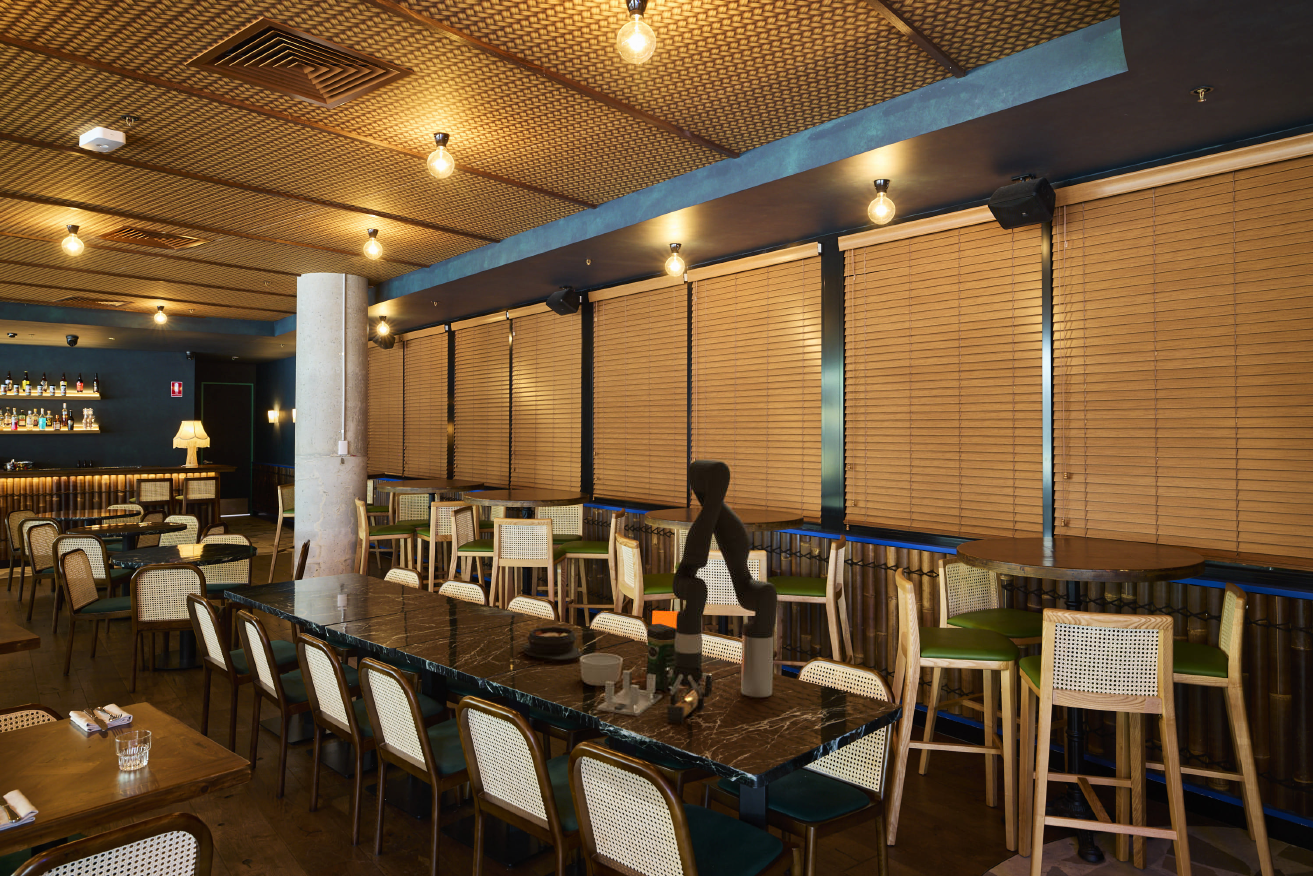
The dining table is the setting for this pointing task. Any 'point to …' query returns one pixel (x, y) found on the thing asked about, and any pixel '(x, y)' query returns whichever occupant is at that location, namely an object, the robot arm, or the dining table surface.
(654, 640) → the coffee jar
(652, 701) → the white holder rack
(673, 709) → the tube
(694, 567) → the robot arm
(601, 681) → the ramekin
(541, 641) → the casserole
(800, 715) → the dining table surface
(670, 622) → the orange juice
